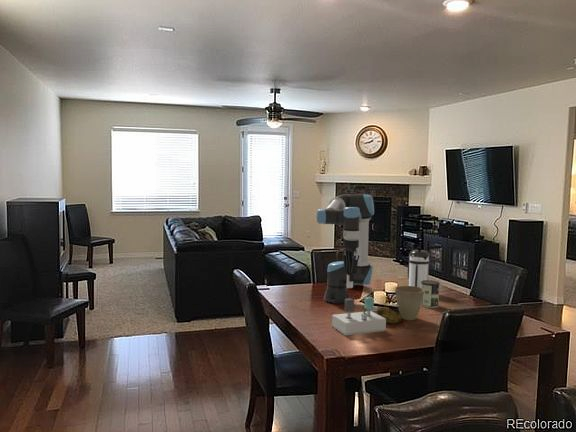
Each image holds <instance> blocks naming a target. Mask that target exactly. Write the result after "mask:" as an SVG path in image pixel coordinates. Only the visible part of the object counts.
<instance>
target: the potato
mask: <svg viewBox="0 0 576 432" xmlns="http://www.w3.org/2000/svg"><path fill="white" fill-rule="evenodd" d="M376 314H378V315H380V316H382V317H383V318H385V319H386V324H392V325H394V324H398V323H400V322H401V321H402V320H403V319H402V316H401V314H400V312H396V311H394V310H392V309H390V308H389V307H387V306H381V307H378V308H377V310H376Z"/></svg>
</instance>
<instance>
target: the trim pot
mask: <svg viewBox="0 0 576 432" xmlns="http://www.w3.org/2000/svg"><path fill="white" fill-rule="evenodd" d="M362 312H363V313H361V320H364V321H365V320H367V313H365V312H366V311H362Z"/></svg>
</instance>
